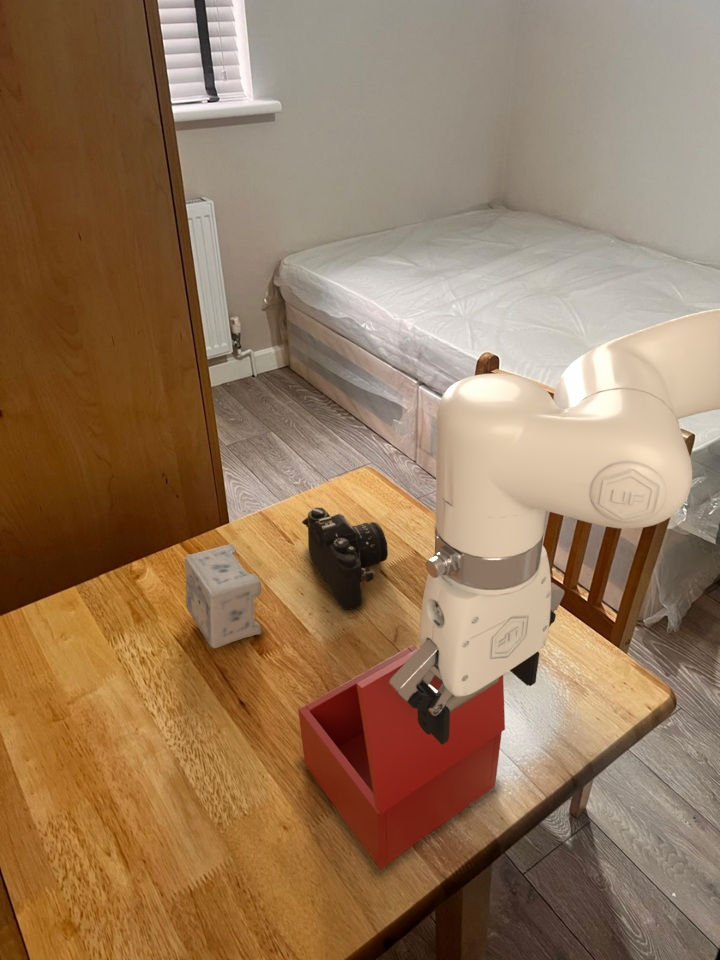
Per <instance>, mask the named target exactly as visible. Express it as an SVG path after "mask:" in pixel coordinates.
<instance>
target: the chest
mask: <svg viewBox="0 0 720 960" xmlns="http://www.w3.org/2000/svg"><path fill="white" fill-rule="evenodd" d="M418 648H419V647H417V646H416V645H415V644H414V643H413V644H411V645H409V646H408V647H407V648H405V649H403V650H401V651H399V652H397V653H395V654H394V655H392V656H390V657H388V658H387V659H385V660H383V661H381V662H379V663H378V664H376V665H374V666H373V667H371V668H369V669H367V670H365V671H364V672H362V673H360V674H358V675H356V676H354V677H353V678H351V679H350V680H348V681H346V682H344V683H342V684H341V685H338V686H337V687H335V688H333V689H331V690H330V691H328V692H326V693H324V694H323V695H321V696H319V697H318V698H316V699H314V700H312V701H311V702H309V703H307V704H305V705H303V706H301V707H300V708H298V710H297V712H298V719H299V727H300V734H301V743H302V752H303V759H304V766H305V767H306V768H307V770H308V771H309V773H310V774H311V775H312V777H313V778H314V780H316V782H317V784H318V785H319V786H320V788H321V789H322V791H323V792H324V793H325V794H326V796H327V797H328V798H329V800H330V802H331V803H332V805H333V806H334V807H335V809H336V810H337V811H338V813H339V814H340V816H341V817H342V818H343V820H344V822H345V823H346V824H347V825H348V827H349V828H350V829H351V831H352V832H353V834H354V835H355V837H356V838H357V839H358V841H359V842H360V843H361V845H362V846H363V848H364V849H365V850H366V852H367V853H368V855H369V856H370V857H371V858H372V860H373V862H374V863H375V864H376V866H377V867H378V869H380V870H382V869H383V868H384V867H385V866H387V865H388V864H390V863H391V862H392V861H394V860H396V859H397V858H398V857H399V856H401V855H402V854H404V853H405V852H407V850H409V849H411V848H412V847H414V846H415V845H417V844H418V843H419V842H420V841H421V840H423V839H424V838H426V837H427V836H428V835H430V834H431V833H433V832H434V831H435V830H436V829H438V828H439V827H441V826H442V825H444V824H446V822H448V821H449V820H451V819H452V818H454V816H456V815H457V814H459V813H460V812H462V811H463V810H464V809H466V808H467V807H469V806H470V805H471V804H473V803H474V802H476V801H477V800H479V799H480V798H482V797H483V796H484V795H485V794H486V793H488V792H490V791H491V790H493V788H495V787H496V782H497V774H498V766H499V758H500V750H501V740H502V732H503V731H502V732H501V733H499V734H498V735H496V736H495V737H493V738H492V739H490V740H489V741H487V742H486V743H484V744H483V745H481V746H480V747H479V748H477V749H476V750H474V751H473V752H471V753H470V754H468V755H467V756H465V757H464V758H462V759H461V760H459V761H458V762H456V763H455V764H454V765H452V766H451V767H449V768H448V769H446V770H445V771H443V772H442V773H440V774H439V775H437V776H436V777H434V778H433V779H432V780H430V781H429V782H427V783H426V784H424V785H423V786H421V787H420V788H418V789H417V790H415V791H414V792H412V793H411V794H409V795H408V796H407V797H405V798H404V799H402V800H401V801H399V802H398V803H396V804H395V805H393V806H392V807H390V808H389V809H387V810H386V811H384V812H383V813H382V814H380V813H379V812H378V811H377V809H376V806H375V800H374V793H373V787H372V781H371V774H370V768H369V761H368V755H367V748H366V742H365V735H364V729H363V722H362V716H361V710H360V703H359V697H358V690H357V683H358V682H360V681H362V680H364V679H365V678H367V677H369V676H371V675H372V674H374V673H376V672H378V671H379V670H381V669H383V668H385V667H386V666H388V665H390V664H392V663H393V662H395V661H397V660H399V659H400V658H402V657H404V656H406V655H407V654H409V653H411V652H413V651H415V650H416V649H418Z"/></svg>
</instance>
